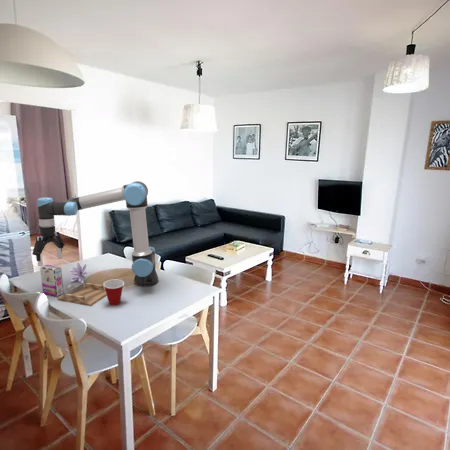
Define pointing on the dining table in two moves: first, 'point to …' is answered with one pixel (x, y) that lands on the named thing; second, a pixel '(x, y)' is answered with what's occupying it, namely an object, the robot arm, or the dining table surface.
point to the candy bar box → (52, 280)
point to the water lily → (78, 273)
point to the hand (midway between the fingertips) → (50, 262)
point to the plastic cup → (114, 291)
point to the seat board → (83, 294)
